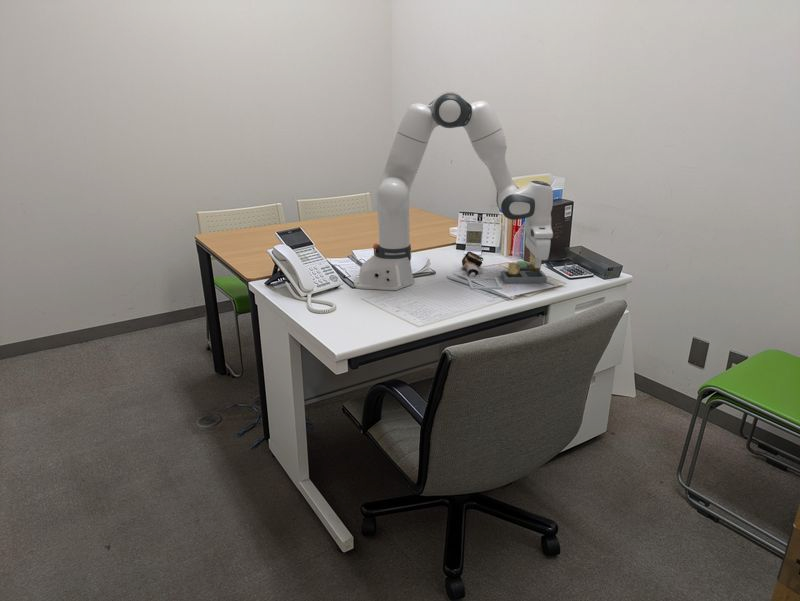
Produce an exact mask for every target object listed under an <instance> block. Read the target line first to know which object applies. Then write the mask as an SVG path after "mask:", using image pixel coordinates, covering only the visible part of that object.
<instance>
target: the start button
mask: <svg viewBox="0 0 800 601" xmlns="http://www.w3.org/2000/svg"><path fill="white" fill-rule="evenodd" d="M516 263H519V264H520V268H527V263H529V262H528V261H526V260H517V261H516Z"/></svg>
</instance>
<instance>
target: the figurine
mask: <svg viewBox="0 0 800 601" xmlns="http://www.w3.org/2000/svg"><path fill="white" fill-rule="evenodd" d="M483 261H484V258H483V257H482V256H480V255H478V254H476V253H475V252H472V251H467V252H466V254H465V256H463V257H462V260H461V265H462V269H465V270H466V271H467V273H468V278H471V277H481V275H484V272H483V271H482V269H481V268H480V267H481V266H482V265H483ZM479 273H480V274H479Z"/></svg>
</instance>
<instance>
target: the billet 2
mask: <svg viewBox="0 0 800 601" xmlns="http://www.w3.org/2000/svg"><path fill="white" fill-rule="evenodd" d="M529 255H530V256H529V263H530V266H529V271H531V272H540V271H542V268H541V267H542V262H541V263H540V267H539V268H535V267H534V262H535V256H534V255H533V254H532V253H531V254H530V253H529Z"/></svg>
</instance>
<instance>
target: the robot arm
mask: <svg viewBox="0 0 800 601" xmlns="http://www.w3.org/2000/svg"><path fill="white" fill-rule="evenodd" d="M439 126H440V127H442V128H445V129H454V128H460V127H462V128H463V129H464V130H465V132H466V133H467V136H468V138H469V141H470V144H471V145H472V148H473V150H474V151H475V153H476V155H477V156H478V158H479V160H480V161H481V162H482V163H483V164H484V165H485V166H486V167H487V168H488V171H489V173H490V175H491V178H492V181H493V184H494V186H495V189H496V206H497V207H498V209H499V210H500V212H501V213H502V215H503V216H504V217H505V218H507V219H508V220H512V221H515V220H517V221H518V220H523V219H525V224H524V232H525V240H524V241H525V242H524V243H525V247H526V248H527V249H528V250H529V255H530V254H531V253H532V254H533V255H534V256H535V262H534V267H535V268H539V267H540V263H541V264H542V261H548V259H549V255H550V251H551V250H550V249H551V244H552V243H551V239H553V237H554V232H553V228H552V215H551V214H552V210H553V205H554V204H553V203H554V191H553V187H552V185H551V184H549V183H548V182H545V181H542V180H531V181H530V182H528V183H527V184H525V185H524V186H522V187H518V186H517V185H516V184H515V182H514V181H513V179H512V175H511V173H510V170H509V168H508V164H507V162H506V161H507V160H506V153H507V149H508V148H507V143H506V142H507V140H506V136H505V133H504V130H503V128H502V125H501V123H500V121H499V118H498V117H497V114H496V113H495V111H494V109H493V107H492V106H491V104H490V103H489V102H488V101H485V100H477V101H473V102H472V103H471V102H470V103H469V102H468V101H466V100H465V98H463V97H462V96H461V95H460V94H458V93H456V92H455V91H445V92H442V93H440V94H439V95H438V96H437V97H435V99H434V100H432V101H431V102H430V103H429V104H425V103H418V102H417V103H416V102H415V103H413V104H410V105H409V107H407V109H406V111H405V113H404V115H403V117H402V118H401V121H400V124H399V126H398V129H397V132H396V134H395V137H394V140H393V142H392V146H391V149H390V152H389V155H388V158H387V160H386V161H387V162H386V163H385V167H384V169H383V173H382V176H381V179H380V182H379V184H378V187H377V190H376V205H377V206H376V208H377V219H378V243H379V244H378V243H374V244H373V245H372V249H373V255H372V256H371V257H370V258H368V259H367V260H365V261H364V262H363V263H362V265H361V266H360V268H359V273H358V275H357V276H359V277H356V276H355V277H354V278H353V286H354V288H356V289H360V290H361V289H363V290H380V291H399V290H400V289H402V288H406V287H410V286H412V285H414V283H415V279H414V274H413V270H412V264H411V259H412V246H411V240H410V236H411V235H410V229H411V228H410V191H411V189H412V186H413V183H414V180H415V178H416V176H417V173H418V171H419V168H420V166H421V162H422V161H423V158H424V154H425V151H426V149H427V146H428V144H429V141H430V138H431V135H432V134H433V131H434V130H435V128H437V127H439Z"/></svg>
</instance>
